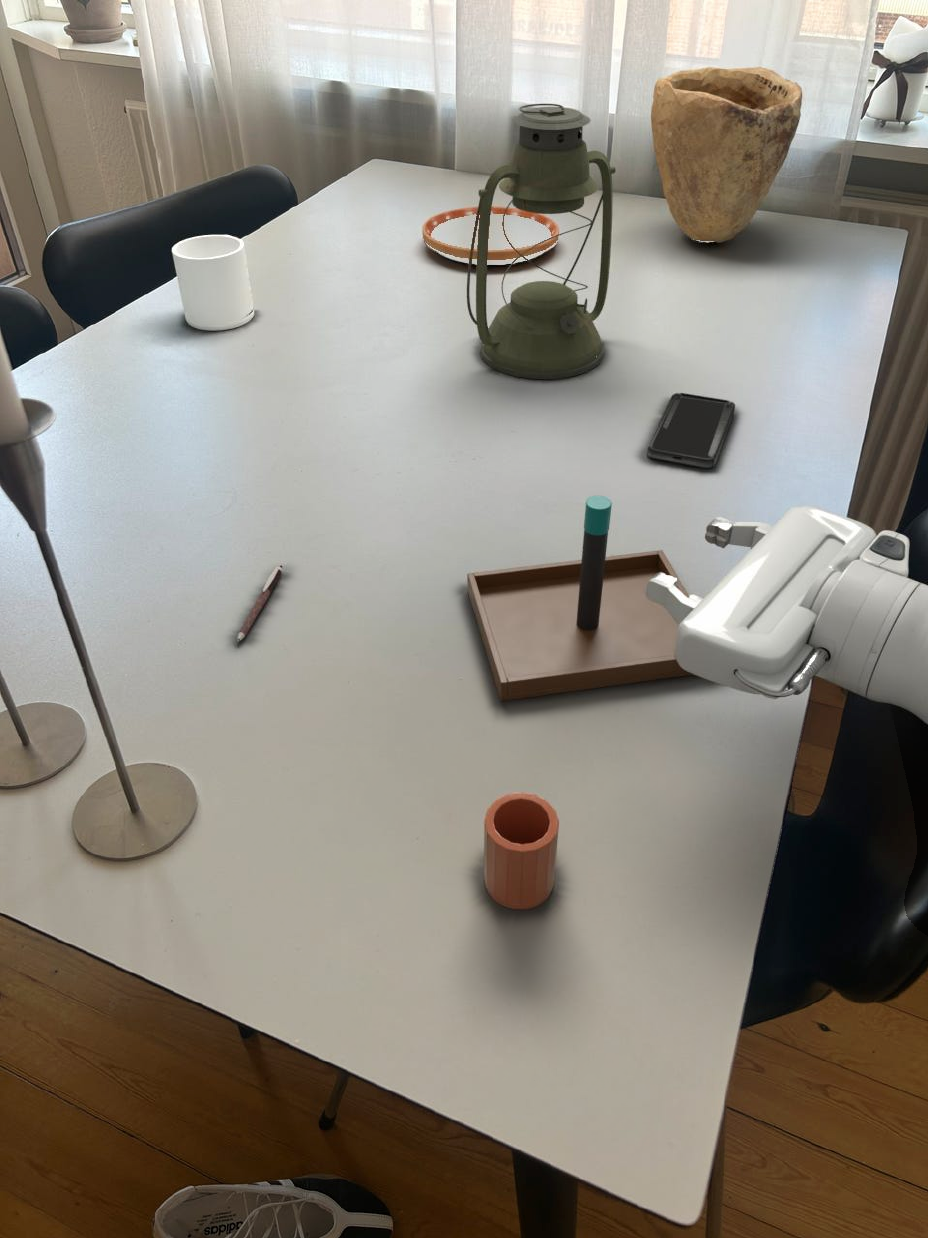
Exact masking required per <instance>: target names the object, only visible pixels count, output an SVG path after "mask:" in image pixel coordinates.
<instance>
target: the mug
mask: <svg viewBox="0 0 928 1238" xmlns="http://www.w3.org/2000/svg"><path fill="white" fill-rule="evenodd" d="M171 253H172V259H173V264H174V268H175V273H176V279H177V283H178V288H179V293H180V299H181V303H182V309H183V313H184V319H185V321H186V323H187V324H188V325H189V326H191V327H192V328H195V329H198V330H202V331H210V332H211V331H215V332H217V331H226V330H232V329H236V328H239V327H242V326H244V325H246V324H248V323H249V322H250V321H251V320H252V319H253V318H254V316H255V309H254V310H253V312H252V313H251V314H250V315H248V316H247V317H245V316H246V315H247V314H249V313H250V312H251V310H252V309H253V306H254V301H253V293H252V287H251V280H250V273H249V269H248V262H247V261H248V260H247V256H246V254H247V253H246V248H245V242H244V241H243V240H242V239H240V238H239V237H237V236H232V235H229V234H207V235H198V236H193V237H188V238H185V239H183V240H181V241H178V242H177V243H175V244H174V245H173V246H172V248H171ZM243 317H245V318H243ZM241 318H243V319H241ZM238 319H241V320H238ZM236 320H238V321H236ZM233 321H235V322H233ZM229 322H231V323H229Z"/></svg>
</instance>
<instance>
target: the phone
mask: <svg viewBox="0 0 928 1238" xmlns="http://www.w3.org/2000/svg"><path fill="white" fill-rule="evenodd" d="M735 409H736V404H735V402H734V401H732V400H728V399H722V398H715V397H710V396H703V395H698V394H691V393H684V392H676V393H673V394H672V395H671V396H670V398H669V400H668V403H667V405H666V406H665V409H664V410H663V413H662V415H661V416H660V419H659V421H658V423H657V425H656V427H655V429H654V432H653V433H652V436H651V437H650V439H649V441H648V442H647V443H648V444H647V450H646V455H647V456H648V457H649V458H650V459H653V460H657V461H663V462H669V463H673V464H674V463H675V464H681V465H684V466H685V465H686V466H691V467H697V468H701V469H710V468H713V467H714V466H716V462H717V460H718V457H719V455H720V452H721V449H722V447H723V444H724V442H725V438H726V436H727V433H728V431H729V428H730V425H731V423H732V420H733V417H734V414H735Z"/></svg>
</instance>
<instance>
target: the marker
mask: <svg viewBox="0 0 928 1238" xmlns="http://www.w3.org/2000/svg"><path fill="white" fill-rule="evenodd" d="M612 505H613V503H612V500H611V499H610V498H608V497H607V496H603V495H592V496H590V497H588V498H586V500H585V508H584V519H583V521H584V522H583V539H582V550H581V551H582V552H581V560H582V562H581V574H580V586H579V598H578V610H577V622H576V623H577V626H578V627H579V628H581V629H583V630H594V629H596V628H597V627H598V625H599V616H600V606H601V597H602V587H603V577H604V568H605V558H606V557H607V556H606V555H607V547H608V537H609V530H610V524H611V514H612Z"/></svg>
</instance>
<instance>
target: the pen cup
mask: <svg viewBox="0 0 928 1238" xmlns="http://www.w3.org/2000/svg"><path fill="white" fill-rule="evenodd" d="M483 822H484V823H483V825H484V829H483V837H484V839H483V840H484V841H483V845H484V846H483V864H484V865H483V868H484V869H483V877H484V884H485V889H486V891H487V892H488V894H489V895H490V897H491V898H492V899H493V900H494V901H495V902H496V903H498V904H499V905H500V906H503V907H505V908H507V909H512V910H528V909H532V908H536V907H538V906H539V905H541V904H543V903H544V902H545V901H546V900H547V899H548V898H549V897H550V896H551V893H552V891H553V889H554V884H555V883H554V882H555V876H556V875H555V874H556V865H557V852H558V842H559V841H558V838H559V829H560V828H559V827H560V820H559V817H558V813H557V811H556V809H555V808H554V807H553V806H552V805H551V804H550V802H549V801H547V799H544V798H543V797H541V796H539V795H537V794H534V793H528V792H522V791H521V792H520V791H518V792H513V793H512V792H511V793H506V794H505V795H502V796H501V797H499V798H497V799H495V800H494V801H493V802H492V803H491V804H490V806H489V807H488V808H487V809H486V813H485V816H484V821H483Z"/></svg>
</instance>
